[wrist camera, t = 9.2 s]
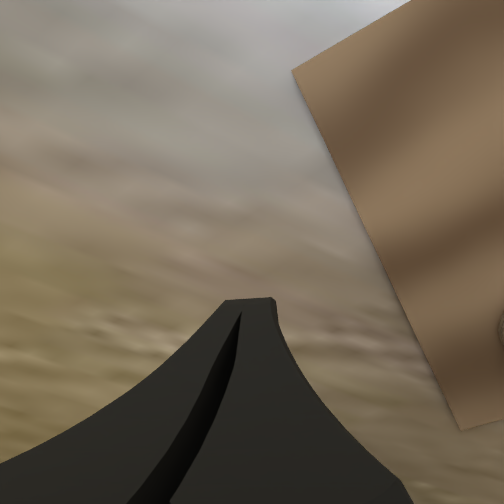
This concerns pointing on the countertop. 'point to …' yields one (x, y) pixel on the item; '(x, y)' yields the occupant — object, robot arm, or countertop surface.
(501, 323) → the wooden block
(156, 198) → the countertop surface
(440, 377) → the walnut board
